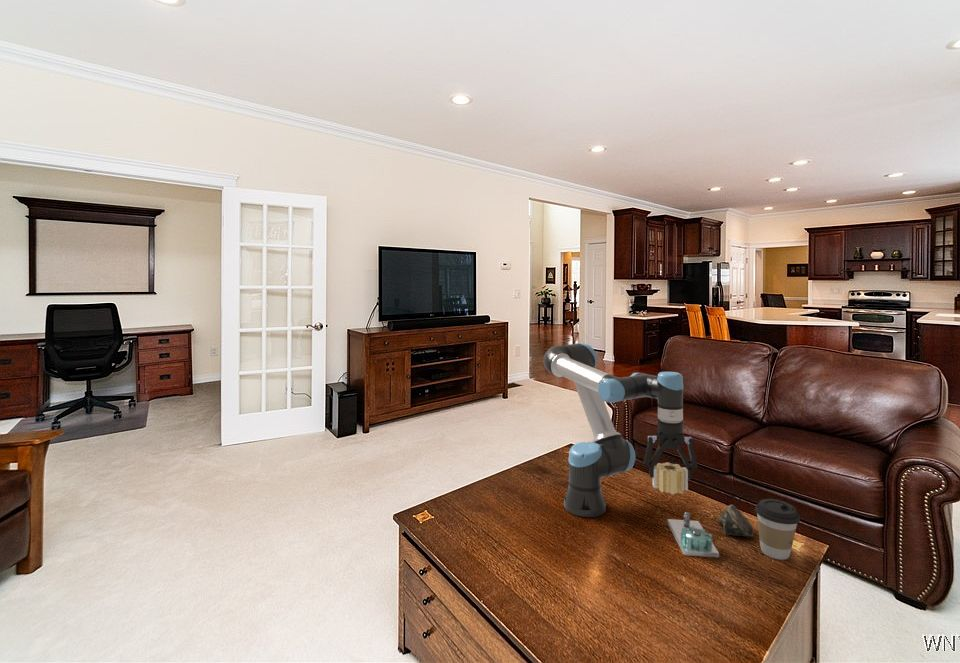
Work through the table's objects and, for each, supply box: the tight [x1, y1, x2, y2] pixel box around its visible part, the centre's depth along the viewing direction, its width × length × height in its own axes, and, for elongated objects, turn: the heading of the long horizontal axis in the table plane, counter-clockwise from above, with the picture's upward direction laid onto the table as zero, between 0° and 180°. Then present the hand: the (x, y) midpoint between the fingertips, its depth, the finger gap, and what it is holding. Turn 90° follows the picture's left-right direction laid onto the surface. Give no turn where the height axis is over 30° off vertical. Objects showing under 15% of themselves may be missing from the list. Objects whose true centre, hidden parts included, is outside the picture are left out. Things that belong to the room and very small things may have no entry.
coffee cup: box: [754, 498, 801, 561], centre depth 132 cm, size 11×11×15 cm
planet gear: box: [655, 462, 686, 495], centre depth 141 cm, size 9×9×7 cm
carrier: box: [666, 511, 720, 559], centre depth 140 cm, size 10×18×6 cm, turn 171°
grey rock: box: [717, 504, 755, 539], centre depth 144 cm, size 11×9×10 cm
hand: (669, 487), depth 142 cm, fingers closed on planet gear, 9 cm apart
